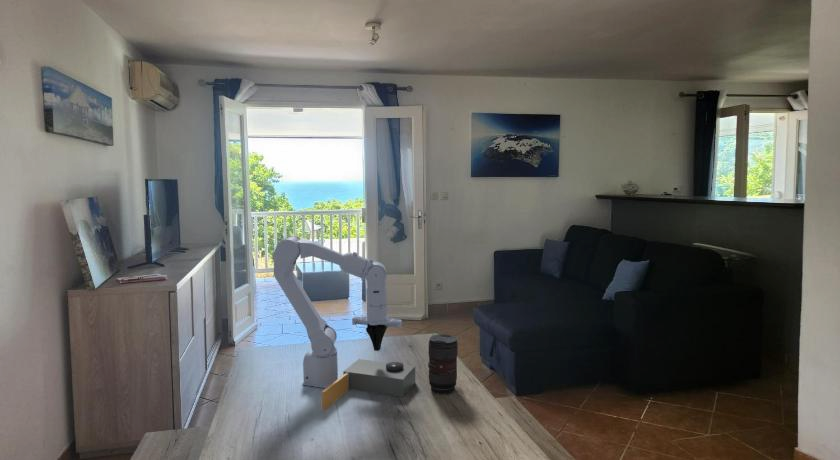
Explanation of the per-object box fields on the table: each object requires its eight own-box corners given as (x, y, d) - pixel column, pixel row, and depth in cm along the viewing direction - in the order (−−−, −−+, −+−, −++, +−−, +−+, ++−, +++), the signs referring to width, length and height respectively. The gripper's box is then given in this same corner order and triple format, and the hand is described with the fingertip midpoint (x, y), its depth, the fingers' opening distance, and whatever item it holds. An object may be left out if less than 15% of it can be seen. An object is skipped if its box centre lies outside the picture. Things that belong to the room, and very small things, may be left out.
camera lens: (455, 397, 142) (455, 343, 140) (426, 394, 143) (426, 342, 142) (459, 385, 150) (459, 334, 148) (431, 382, 151) (431, 332, 149)
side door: (345, 389, 147) (344, 372, 147) (349, 389, 147) (349, 372, 146) (320, 409, 135) (319, 391, 134) (325, 410, 134) (324, 392, 134)
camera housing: (343, 388, 148) (343, 367, 147) (359, 375, 157) (358, 355, 156) (403, 397, 142) (402, 375, 141) (415, 382, 151) (415, 362, 151)
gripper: (347, 306, 148) (348, 352, 150) (396, 309, 145) (397, 356, 146) (356, 300, 155) (357, 344, 157) (403, 302, 151) (404, 348, 153)
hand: (377, 349), depth 152 cm, fingers closed
